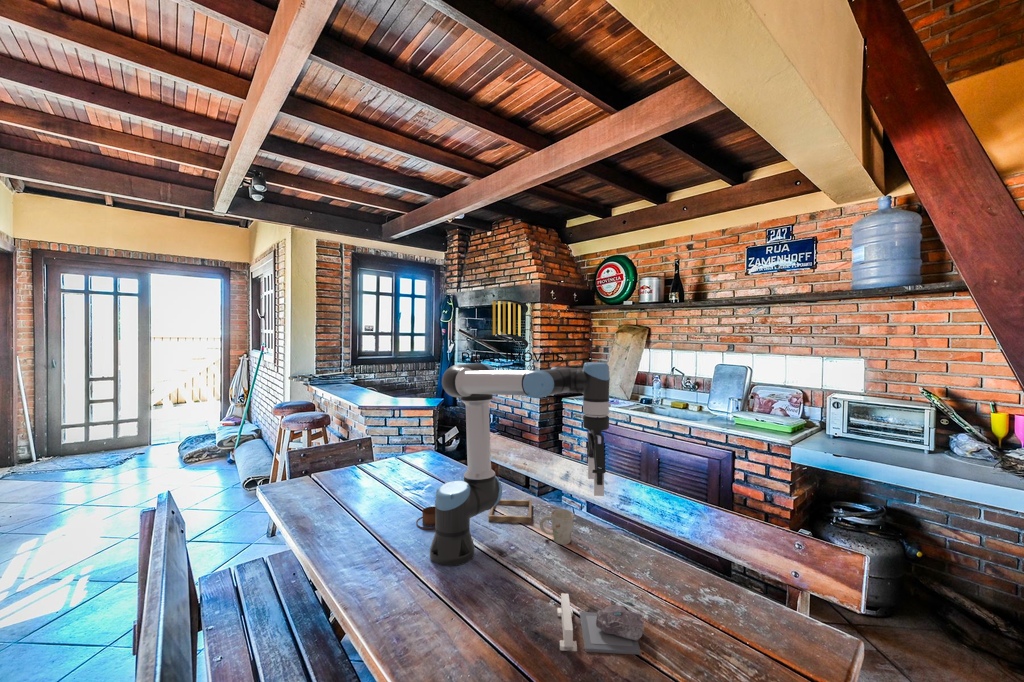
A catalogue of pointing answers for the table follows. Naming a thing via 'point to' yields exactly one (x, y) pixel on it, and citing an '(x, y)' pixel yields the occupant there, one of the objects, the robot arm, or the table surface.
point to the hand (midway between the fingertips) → (595, 486)
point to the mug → (560, 525)
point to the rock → (620, 622)
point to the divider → (566, 624)
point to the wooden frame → (512, 518)
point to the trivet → (604, 638)
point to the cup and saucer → (428, 517)
